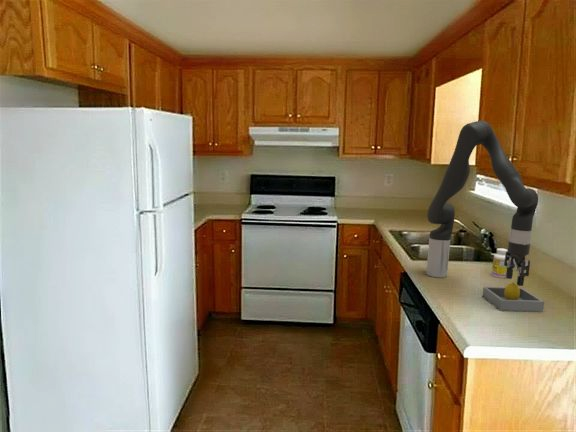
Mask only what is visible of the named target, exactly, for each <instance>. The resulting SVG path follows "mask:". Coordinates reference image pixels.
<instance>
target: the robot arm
mask: <svg viewBox="0 0 576 432" xmlns="http://www.w3.org/2000/svg"><path fill="white" fill-rule="evenodd" d="M479 145H481V146H482V147H483V148H485V150H486V151H487V154H488V155H489V157H490V163H491V167H492V171H493V173H494V174H495V177H496V178H497V179H498V180H499V182H500V184H502V186H503V187H504V189H505V192H506V194H507V195H508V197H509V199H510V201H511V203H512V204H513V205H514V206H515V207H517V208H516V212H515V213H514V214H513V216H512V218H511V227H510V231H509V236H508V241H507V242H508V243H507V250H508V252H506V255H505V261H504V266H506V269H507V272H506V279H508V280H512V279H513V275H514V269H515V271H517V279H516V285H517V286H518V287H523V286H524V283H525V277H529V275H530V268H531V267H530V266H531V260H528V259H526V256H528V255H529V254H530V250H531V243H532V242H531V241H532V228H533V221H534V219H533V218H534V217H535V213H536V211H537V207H538V204H539V195H538V193H537V191H536V190H534V189H533V188H526V186H525V185H524V184H523V181H522V180H523V177H522V175H521V174H520V173H519V171H518V170H517V168H516V167H515V166H514V164H513V163H512V162H511V160H510V159H509V157H508V156H507V154H506V153H505V151H504V149H503V147H502V145H501V143H500V141H499V140H498V137H497V135H496V133H495V132H494V129H493V128H492V126H491V125H490V123H489V122H487V121H486V120H477V121H473V122H469V123H466V124H465V125H464V126H462V127H461V130H460V131H459V134H458V138H457V140H456V145H455V148H454V152H453V154H452V156H451V159H450V161H449V163H448V166H447V168H446V170H445V173H444V175H443V178H442V180H441V184H440V186H439V188H438V190H437V192H436V194H435V196H434V198H433V199H432V201H431V203H430V205H429V207H428V209H427V216H426V217H427V218H426V219H427V221H428V222H429V223H431V224H433V225H440V226H439V227H437V228H435V229H433V230H431V231H430V232H429V240H428V249H427V251H428V252H427V259H426V271H425V272H426V273H425V274H426V276H430V277H431V278H432V277H433V278H441V279H442V278H447V277H448V270H449V269H448V268H449V260H450V259H449V258H450V247H451V239H452V235H453V229H454V224H455V217H456V216H455V215H456V211H455V207H454V205H452V204H451V203H448V201H449V200H450V199H451V198H452V197H454V196H455V195H457V194H458V193H459V192H460V191H461V190H463V188H464V187H465V185H466V183H467V180H468V179H469V176H470V171H471V169H470V158H471V155H472V153H473V151H474V149H475V148H476V147H477V146H479ZM508 260H509V261H508ZM507 261H508V262H507Z"/></svg>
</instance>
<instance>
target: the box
mask: <svg viewBox="0 0 576 432" xmlns="http://www.w3.org/2000/svg"><path fill="white" fill-rule="evenodd" d="M505 288H506V287H500V286H499V287H497V286H496V287H495V286H483V288H482V296H481V297H482V298H483V299H484V300H486V301H488V302H489V303H490V304H491V305H493V307H495V308H496V309H498V310H499V311H500V312H529V313H531V312H535V313H536V312H537V313H539V312H540V313H543V312H544V306H545V301H544V300H542V299H541V298H539V297H537V296H536V295H534V294H533V293H532V292H530V291H528V290H526V289H525V288H523V287H519V289H520V296H519V298H518V300H507V299H506V298H505V296H504V291H505Z"/></svg>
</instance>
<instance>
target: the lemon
mask: <svg viewBox="0 0 576 432" xmlns="http://www.w3.org/2000/svg"><path fill="white" fill-rule="evenodd" d="M504 288H505V291H504V296H505V298H506V299H507V300H518V298H519V296H520V289H519V288H520V286H518V285H517V283H514V282H511V283H508V284H507V285H506V286H505V287H504Z"/></svg>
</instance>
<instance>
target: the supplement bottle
mask: <svg viewBox="0 0 576 432" xmlns="http://www.w3.org/2000/svg"><path fill="white" fill-rule="evenodd" d="M506 252H508V248H507V249H506V248H503V247H502V248H501V247H500V248H497V249H496V253H495V254H494V255H493V263H492V270H491V275H492V277H494V278H497V279H498V278H499V279H505V278H506V272H507V269H506V266H504V261H505V255H506ZM508 261H509V260H508ZM508 261H507V262H508ZM506 279H507V278H506Z"/></svg>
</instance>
